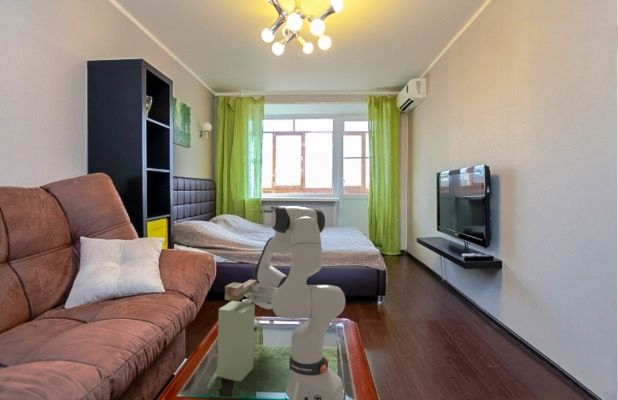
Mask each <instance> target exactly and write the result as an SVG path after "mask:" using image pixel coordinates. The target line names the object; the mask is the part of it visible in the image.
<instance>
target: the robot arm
mask: <svg viewBox="0 0 618 400" xmlns="http://www.w3.org/2000/svg"><path fill="white" fill-rule="evenodd" d="M325 217H326V216H325V214H324V213H323V210H320V209H317V208H309V207H303V206H299V205H297V206H295V205H290V206H289V205H287V206H285V205H278V206H275V208H274V209H272V213H271V215H270V224H271V228H272V230H274V232H275V233H274V235H273V236H271V237H269V239H268V240H267V241H266V243H265V245H264V247H263V249H262V252H261V254H260V256H259V259H258V261H257V263H256V265H255V267H254V269H253V270H252V271H253V273H252V275H253V280H257V282H256V283H257V284H256V286H255V285H250V289H251V291H250V292H248V293H247V294H245V295H246V296H248V299H250V300H251V301H252V302H251V303H252V304H255V305H257V306H259V307H261V308H263V309H266V310H272V311H273V313H274V315H276V317H279V318H282V319H283V318H284V319H289V320H290V319H291V320H292V319H293V320H296V319H306V320H307V319H308V320H307V321H306V320H305V321H306V322H305V321H304V322H305V323H304V324H303V323H302V324H300V325H299V326H297V327H296V328H295V330H293V332H292V335H291V345H290V346H291V347H290V348H291V349H290V354H289V360H288V366H289V367H288V368H289V376H288V382H287V385H286V386H287V387H286V390H285V392H286V395H287V396H288V397H289V398H290V399H291V400H343V398H344V390H343V389H344V384H343V380H342V378H341V377H340V376H339V375H338V374H337V373H335V372H334V371H333V369H331V368H330V367H329V359H330V358H329V357H327V358H326V357H325V356H324V353H323V352H324V341H325V336H326V332H327V330H328V327H330V325H331V323H332V322H333V321H334V320H335V319H336V318H337V317H338V316H339V315H341V314H342V313H343V312H344V309H345V307H346V297H345V296H346V295H345V293H344V291H343V290H342V289H341V288H340V287H339V286H337V285H331V284H307V280H308V278H309V277H311V276H314V274H316V273H318V272H319V271H320V270H322V267H323V251H322V249H323V248H322V239H321V238H322V237H321V233H322V232H323V231H324V229H325V225H326V218H325ZM274 254H280V255H287V254H291V260H290V261H291V262H290V263H291V264H290V269H289V273H288V275H286V274H285V273H283V272H282V271H280V270H278V268H276V267H274V266H273V265H272V263H271V260H272V258H273V256H274ZM232 283H235V282H232ZM236 283H237V284H243V283H242V282H236Z"/></svg>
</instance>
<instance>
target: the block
mask: <svg viewBox="0 0 618 400" xmlns="http://www.w3.org/2000/svg"><path fill="white" fill-rule="evenodd" d="M237 283H238V282H234V283H233V282H231V283H228V284H227V285H225V286H224V300H225V301H229V302H231V301H236V302H237V301H238V302H239V301H240V300H241V299H243V298H244V295H245V294H247V293H248V292H250V291H251V289H250V285H255V286H256V283H258V282H257V280H254V279H249V280H247V281H246V280H245V282H243V283H242V284H237Z"/></svg>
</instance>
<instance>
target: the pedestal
mask: <svg viewBox="0 0 618 400" xmlns="http://www.w3.org/2000/svg"><path fill="white" fill-rule="evenodd" d="M255 305H256V304H255V303H252V302H251V303H244V302H242V301H239V300H238V301H237V302H236V301H229V302H228V303H226V304H225V305H223V306H221V307H219V308H218V319H217V320H218V323H217V325H218V326H217V331H218V332H217V362H216V363H217V365H216V367H217V370H216V371H217V374H216V375H217V377H218V378H222V379H226V380H231V381H235V382H239V381H241V382H242V381H243V380H244V379H245V378H246V377H247V375H248V374H250V373H251V371H252V370H253V369H254V354H255V353H254V351H255V349H254V348H255V347H254V345H255V328H254V319H255V316H256V315H255V314H256V313H255V312H256V311H255V310H256V309H255V308H256V306H255Z"/></svg>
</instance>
